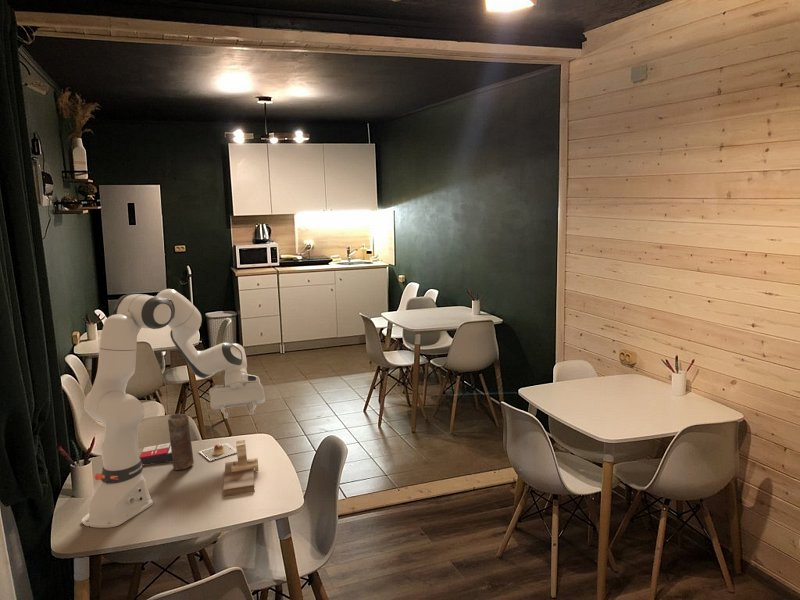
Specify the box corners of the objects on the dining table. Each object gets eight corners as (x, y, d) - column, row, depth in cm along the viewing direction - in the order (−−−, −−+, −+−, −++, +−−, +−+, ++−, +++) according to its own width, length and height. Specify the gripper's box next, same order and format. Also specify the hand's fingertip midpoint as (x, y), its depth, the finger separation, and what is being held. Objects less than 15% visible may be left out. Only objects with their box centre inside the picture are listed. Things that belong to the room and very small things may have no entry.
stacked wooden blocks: (258, 471, 226) (255, 443, 224) (232, 475, 224) (228, 447, 222) (258, 464, 232) (255, 437, 230) (232, 468, 230) (229, 441, 228)
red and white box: (143, 446, 249) (182, 439, 252) (145, 456, 250) (184, 449, 253) (137, 457, 239) (178, 450, 242) (139, 468, 240) (180, 460, 242)
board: (254, 491, 213) (253, 484, 213) (224, 496, 211) (223, 489, 211) (253, 464, 234) (253, 458, 234) (226, 469, 232) (225, 462, 232)
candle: (184, 461, 241) (177, 411, 238) (198, 463, 238) (192, 413, 234) (169, 469, 235) (162, 418, 231) (183, 472, 231) (177, 421, 228)
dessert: (198, 454, 248) (197, 442, 248) (227, 445, 256) (226, 434, 255) (209, 463, 239) (208, 451, 238) (239, 454, 246) (238, 442, 245)
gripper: (207, 382, 239) (209, 416, 231) (262, 376, 243) (266, 408, 236) (209, 390, 244) (211, 423, 236) (263, 383, 249) (266, 415, 241)
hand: (239, 415), depth 236 cm, fingers open, 8 cm apart
